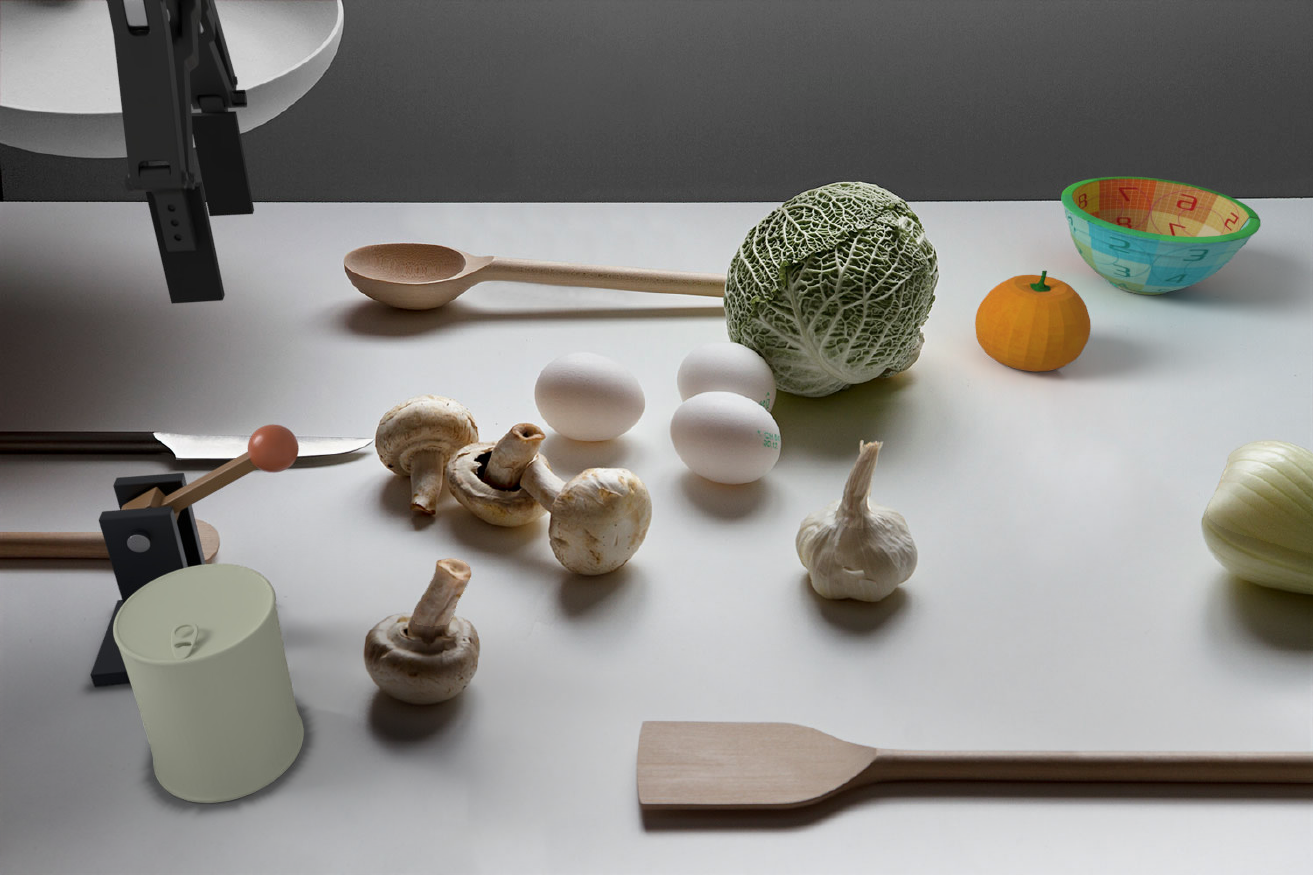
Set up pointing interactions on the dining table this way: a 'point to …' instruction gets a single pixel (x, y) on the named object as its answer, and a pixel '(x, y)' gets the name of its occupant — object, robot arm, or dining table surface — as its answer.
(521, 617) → the dining table surface
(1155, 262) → the bowl
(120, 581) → the bracket
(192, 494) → the lever
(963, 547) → the dining table surface
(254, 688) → the can
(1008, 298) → the fruit
